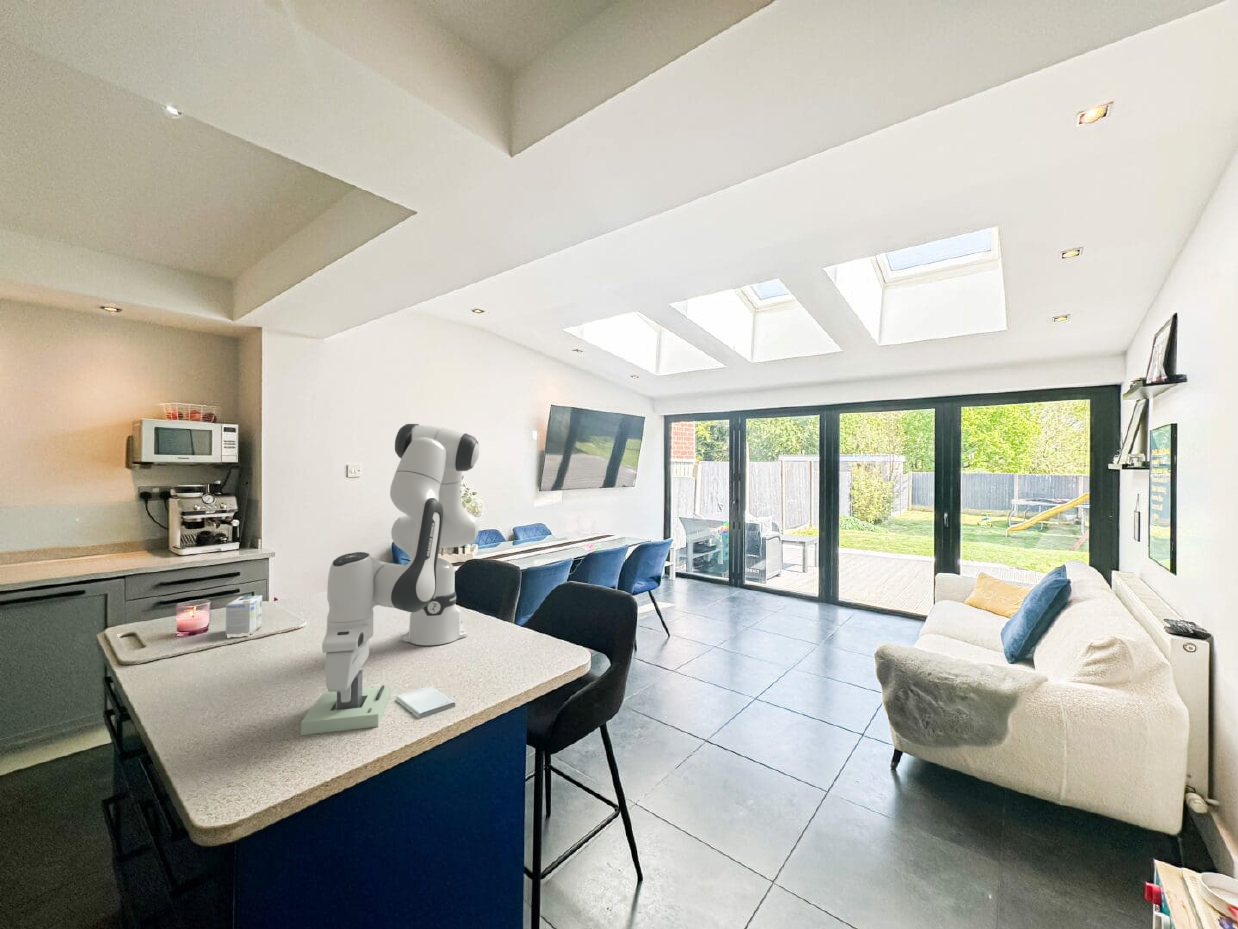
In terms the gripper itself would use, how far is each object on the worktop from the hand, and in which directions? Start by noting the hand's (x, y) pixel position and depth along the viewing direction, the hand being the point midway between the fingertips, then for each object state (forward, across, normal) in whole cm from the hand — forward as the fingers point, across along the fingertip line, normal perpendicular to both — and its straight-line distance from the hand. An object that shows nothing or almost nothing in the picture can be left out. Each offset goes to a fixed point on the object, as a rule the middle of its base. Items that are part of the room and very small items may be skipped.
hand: (349, 695), depth 109 cm
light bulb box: (+4, -69, -47) cm, 84 cm away
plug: (+3, 0, 0) cm, 3 cm away
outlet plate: (+4, 0, 0) cm, 4 cm away
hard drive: (+5, -2, +15) cm, 16 cm away
